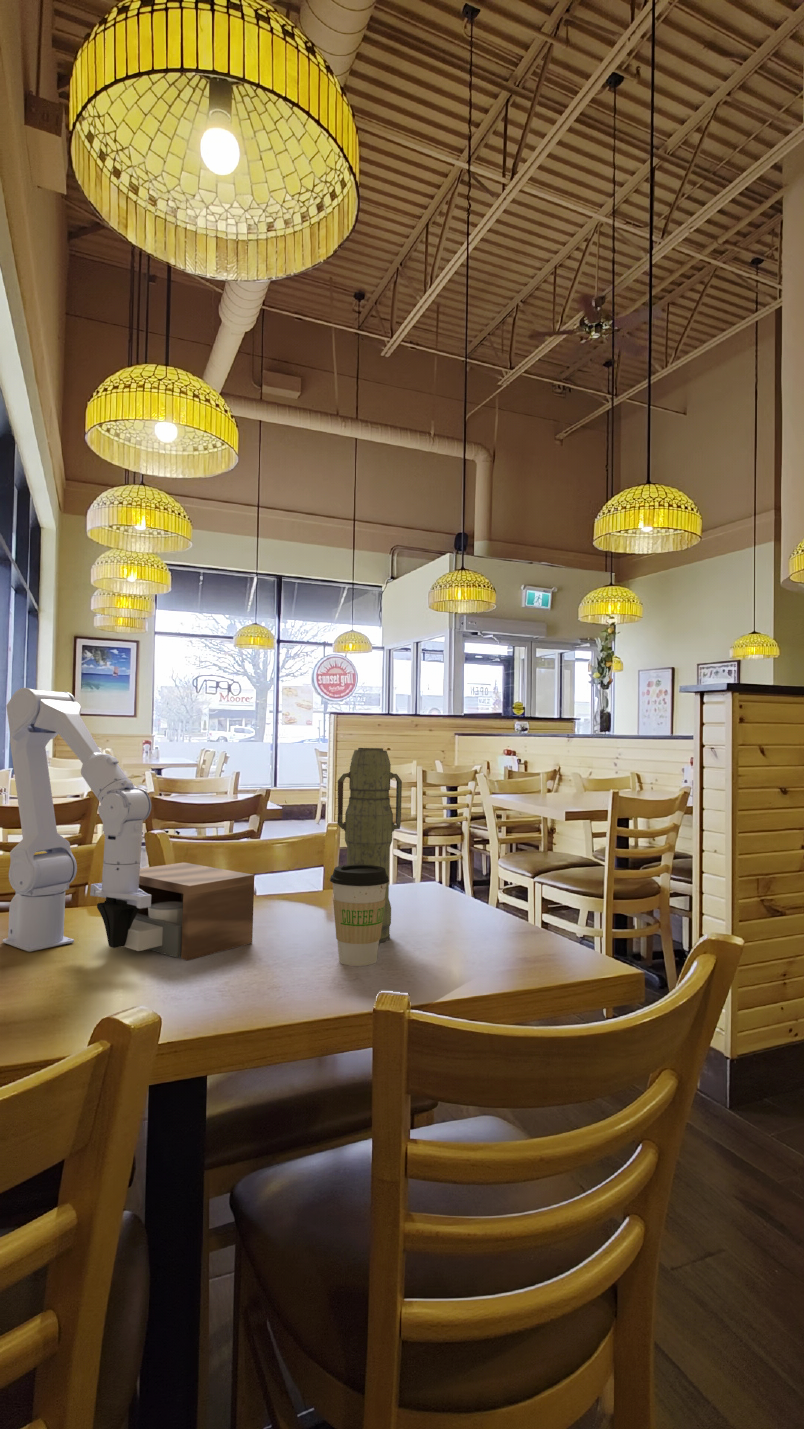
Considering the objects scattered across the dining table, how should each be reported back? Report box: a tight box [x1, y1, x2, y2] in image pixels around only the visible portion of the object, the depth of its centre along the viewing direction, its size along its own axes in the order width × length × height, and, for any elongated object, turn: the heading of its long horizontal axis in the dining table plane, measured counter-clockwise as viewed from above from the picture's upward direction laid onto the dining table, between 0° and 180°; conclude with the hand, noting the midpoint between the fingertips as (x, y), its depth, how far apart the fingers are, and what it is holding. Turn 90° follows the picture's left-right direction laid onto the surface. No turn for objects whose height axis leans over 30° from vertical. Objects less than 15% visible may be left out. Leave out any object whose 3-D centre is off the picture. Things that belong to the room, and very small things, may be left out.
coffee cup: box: [329, 864, 390, 967], centre depth 120 cm, size 10×10×15 cm
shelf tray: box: [122, 913, 182, 958], centre depth 126 cm, size 16×18×5 cm
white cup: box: [148, 901, 183, 925], centre depth 126 cm, size 7×7×7 cm
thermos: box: [336, 747, 403, 944], centre depth 135 cm, size 9×12×35 cm
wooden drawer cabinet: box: [138, 862, 255, 961], centre depth 129 cm, size 20×14×12 cm
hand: (116, 946), depth 118 cm, fingers closed, pressing on shelf tray
